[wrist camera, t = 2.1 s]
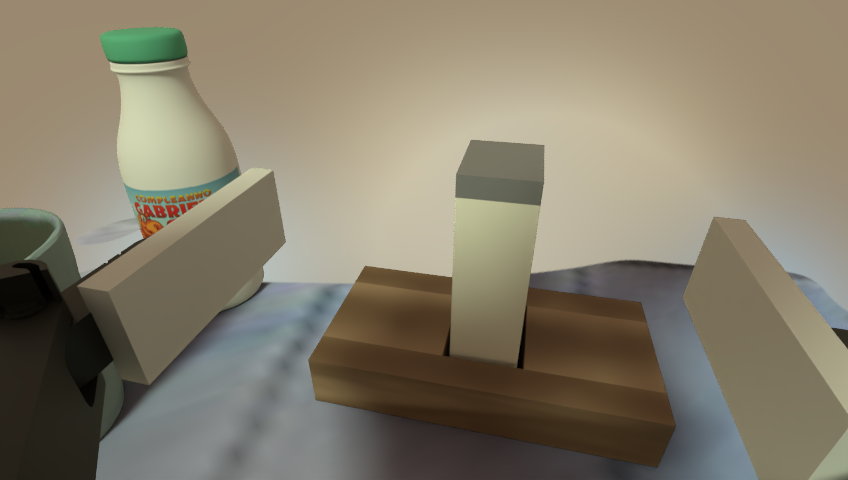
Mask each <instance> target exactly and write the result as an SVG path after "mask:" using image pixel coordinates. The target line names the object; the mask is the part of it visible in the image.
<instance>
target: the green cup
mask: <svg viewBox="0 0 848 480" xmlns="http://www.w3.org/2000/svg"><path fill="white" fill-rule="evenodd" d="M28 259H31V260H41V261H43V262H44V263H46V264H47V266H48V268H49V269H50V271H51V273H52V275H53V277H54V279H55V281H56V283H57V285H58V287H59V289H60V291H61V292H62V291H63V290H65V289H66V288H68V287H69V286H71V285H72V284H74V283H75V282H77V281H78V280H80V279H81V277H80V274H79V271H78V267H77V263H76V259H75V255H74V252H73V249H72V246H71V243H70V241H69V237H68V235H67V232H66V229H65V226H64V224H63V222H62V221H61V219H60V218H59V217H58V216H57V215H55V214H53V213H51V212H47V211H44V210H39V209H31V208H2V209H0V265H2V264H6V263H10V262H14V261H20V260H28ZM101 372H102V374H103V376H104V378H105V382H106V387H105V396H104V405H103V414H102V423H101V432H100V439H101V438H102V437H103V436H104V435H105V434H106V433H107V431H108V430H109V429H110V428H111V427H112V425H113V424H114V422H115V420H116V418H117V417H118V415H119V413H120V411H121V408H122V405H123V402H124V385H123V382H122V379H121V377H120V375H119V373H118V371H117V369H116V366H115V364H114V362H113V361H112V362H111V363H110V364H109V365H108V366H107V367H106V368H105V369H104V370H102V371H101Z"/></svg>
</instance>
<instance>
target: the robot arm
mask: <svg viewBox="0 0 848 480" xmlns="http://www.w3.org/2000/svg"><path fill="white" fill-rule="evenodd" d="M285 242H286V241H285V236H284V230H283V224H282V219H281V213H280V207H279V201H278V195H277V189H276V184H275V178H274V172H273V170H268V169H258V168H251V169H249V170H248V171H246V172H245V173H244V174H242V175H241V176H239V177H238V178H236V179H235V180H233V181H232V182H230V183H229V184H227V185H226V186H224V187H223V188H221V189H220V190H218V191H217V192H215V193H214V194H212V195H211V196H209V197H208V198H207V199H205V200H204V201H202V202H201V203H199V204H198V205H196V206H195V207H193V208H192V209H190V210H189V211H187V212H186V213H184V214H183V215H181V216H180V217H178V218H177V219H175V220H174V221H172V222H171V223H169V224H168V225H167V226H165V227H164V228H162V229H161V230H159V231H158V232H156V233H155V234H153V235H152V236H149V237H147V238H144V239H142V240H140V241H138V242H136V243H134V244H133V245H131V246H130V247H128V248H127V249H125V250H124V251H122V252H121V254H120V255H119V254H118V255H116V256H115V257H113V258H112V259H110V260H109V261H108V263H104V264H103V265H101V266H100V267H98V268H97V269H95V270H94V271H92V272H91V273H89V274H88V275H86V276H84V277H83V278H81V279H80V280H78V281H77V282H75V283H74V284H72V285H71V286H69V287H68V288H66V289H65V290H63V291H62V292H61V291H60V289H59V287H58V285H57V283H56V281H55V279H54V277H53V275H52V273H51V271H50V269H49V268H48V266H47V264H46V263H44V262H43V261H41V260H31V259H28V260H20V261H14V262H10V263H6V264H2V265H0V480H95V478H96V469H97V460H98V451H99V442H100V432H101V423H102V414H103V405H104V396H105V387H106V382H105V378H104V376H103V374H102V372H101V371H102V370H104V369H105V368H106V367H107V366H108V365H109V364H110V363H111V362H112V361H113V362H114V364H115V366H116V369H117V371H118V373H119V375H120V377H121V379H123V380H128V381H132V382H137V383H141V384H146V385H150V384H151V383H152V382H153V381H154V380H155V379H156V378H157V377H158V376H159V375H160V374H161V372H162V371H163V370H164V369H165V368H166V367H167V366H168V365H169V364H170V363H171V362H172V361H173V360H174V359H175V358H176V357H177V356H178V355H179V354H180V353H181V352H182V350H183V349H184V348H185V347H186V346H187V345H188V344H189V343H190V342H191V341H192V340H193V339H194V338H195V337H196V336H197V335H198V334H199V333H200V332H201V331H202V329H203V328H204V327H205V326H206V325H207V324H208V323H209V322H210V321H211V320H212V319H213V318H214V317H215V316H216V315H217V314H218V313H219V312H220V311H221V310H222V308H223V307H224V306H225V305H226V304H227V303H228V302H229V301H230V300H231V299H232V298H233V297H234V296H235V295H236V294H237V293H238V292H239V291H240V290H241V289H242V287H243V286H244V285H245V284H246V283H247V282H248V281H249V280H250V279H251V278H252V277H253V276H254V275H255V274H256V273H257V272H258V271H259V270H260V269H261V268H262V266H263V265H264V264H265V263H266V262H267V261H268V260H269V259H270V258H271V257H272V256H273V255H274V254H275V253H276V252H277V250H279V249H280V247H281V246H283V244H284V243H285ZM683 299H684V302H685V304H686V306H687V309H688V311H689V314H690V316H691V318H692V321H693V323H694V326H695V328H696V330H697V333H698V335H699V338H700V340H701V342H702V345H703V347H704V349H705V352H706V354H707V357H708V359H709V361H710V364H711V366H712V369H713V371H714V373H715V376H716V378H717V381H718V383H719V385H720V388H721V390H722V393H723V395H724V397H725V400H726V402H727V404H728V407H729V409H730V412H731V414H732V416H733V419H734V421H735V424H736V426H737V428H738V431H739V433H740V436H741V438H742V440H743V443H744V445H745V447H746V450H747V452H748V455H749V457H750V459H751V462H752V464H753V467H754V469H755V471H756V474H757V476H758V479H759V480H848V330H844V329H837V328H831V327H830V326H829V325H828V324H827V322H826V321H825V320H824V319H823V317H822V316H821V315H820V314H819V312H818V311H817V310H816V309H815V307H814V306H813V305H812V304H811V302H810V301H809V300H808V299H807V297H806V296H805V295H804V294H803V292H802V291H801V290H800V288H799V287H798V286H797V285H796V283H795V282H794V281H793V280H792V278H791V277H790V276H789V275H788V273H787V272H786V271H785V270H784V268H783V267H782V266H781V265H780V263H779V262H778V261H777V260H776V258H775V257H774V256H773V255H772V253H771V252H770V251H769V250H768V248H767V247H766V246H765V245H764V244H763V242H762V241H761V240H760V238H759V237H758V236H757V235H756V233H755V232H754V231H753V229H752V228H751V227H750V226H749V224H748V223H747V222H746V221H745V220H739V219H730V218H719V217H714V218H713V220H712V223H711V225H710V228H709V231H708V233H707V236H706V238H705V241H704V243H703V246H702V248H701V251H700V254H699V256H698V259H697V261H696V264H695V266H694V269H693V272H692V274H691V277H690V279H689V282H688V284H687V287H686V290H685V292H684V295H683Z"/></svg>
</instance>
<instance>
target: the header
mask: <svg viewBox="0 0 848 480" xmlns="http://www.w3.org/2000/svg"><path fill="white" fill-rule="evenodd" d="M451 304H452V277H445V276H437V275H429V274H422V273H414V272H407V271H399V270H392V269H384V268H376V267H368V266H365V267H364V269H363V270H362V272H361V274H360V275H359V277H358V279H357V280H356V282H355V284H354V285H353V287H352V289H351V290H350V292H349V293H348V295H347V297H346V298H345V300H344V302H343V303H342V305H341V307H340V308H339V310H338V312H337V313H336V315H335V317H334V318H333V320H332V322H331V323H330V325H329V327H328V328H327V330H326V332H325V333H324V335H323V337H322V338H321V340H320V342H319V343H318V345H317V347H316V348H315V350H314V352H313V353H312V355H311V357H310V358H309V360H308V361H309V366H310V371H311V377H312V382H313V387H314V392H315V398H316V400H319V401H324V402H329V403H334V404H339V405H344V406H349V407H354V408H359V409H364V410H369V411H375V412H380V413H385V414H390V415H395V416H400V417H405V418H410V419H415V420H420V421H425V422H430V423H435V424H440V425H445V426H450V427H456V428H461V429H466V430H471V431H476V432H481V433H486V434H491V435H496V436H501V437H506V438H511V439H516V440H521V441H526V442H531V443H537V444H542V445H547V446H552V447H557V448H562V449H567V450H572V451H577V452H582V453H587V454H592V455H597V456H602V457H607V458H612V459H618V460H623V461H628V462H633V463H638V464H643V465H648V466H653V467H658V465H659V463H660V461H661V458H662V456H663V454H664V452H665V449H666V447H667V445H668V443H669V440H670V438H671V436H672V434H673V432H674V429H675V427H676V425H675V421H674V418H673V414H672V410H671V407H670V403H669V400H668V396H667V393H666V389H665V386H664V382H663V379H662V375H661V371H660V368H659V364H658V361H657V357H656V354H655V350H654V347H653V343H652V340H651V336H650V332H649V329H648V325H647V322H646V318H645V315H644V311H643V308H642V304H641V302H634V301H626V300H618V299H611V298H603V297H596V296H588V295H581V294H573V293H566V292H558V291H550V290H543V289H535V288H528V294H527V300H526V307H525V314H524V321H523V328H522V334H521V341H520V343H521V344H522V348H521V364H520V369H519V368H513V367H507V366H501V365H495V364H489V363H483V362H477V361H471V360H465V359H459V358H453V357H450V331H451Z"/></svg>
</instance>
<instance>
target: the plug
mask: <svg viewBox="0 0 848 480" xmlns="http://www.w3.org/2000/svg"><path fill="white" fill-rule="evenodd" d="M543 185H544V145H535V144H521V143H507V142H493V141H479V140H471V141H470V144H469V146H468V148H467V151H466V153H465V155H464V158H463V160H462V162H461V165H460V167H459V169H458V172H457V174H456V196H455V223H454V252H453V277H452V304H451V331H450V357H453V358H459V359H465V360H471V361H477V362H483V363H489V364H495V365H501V366H507V367H513V368H517V362H518V355H519V348H520V341H521V334H522V328H523V321H524V314H525V307H526V300H527V294H528V287H529V280H530V273H531V266H532V260H533V252H534V246H535V239H536V232H537V226H538V219H539V212H540V204H541V198H542V191H543Z"/></svg>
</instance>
